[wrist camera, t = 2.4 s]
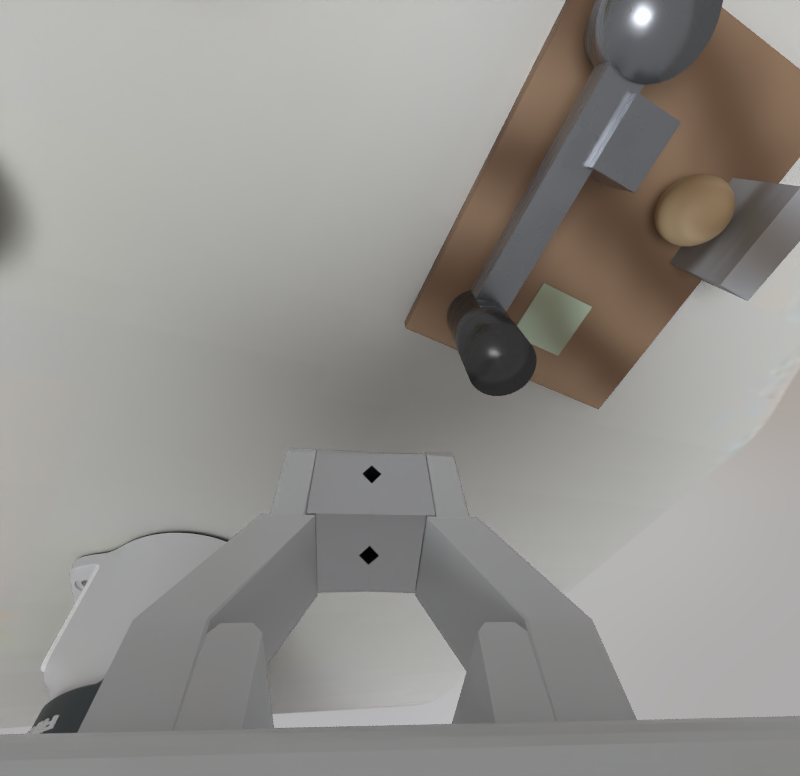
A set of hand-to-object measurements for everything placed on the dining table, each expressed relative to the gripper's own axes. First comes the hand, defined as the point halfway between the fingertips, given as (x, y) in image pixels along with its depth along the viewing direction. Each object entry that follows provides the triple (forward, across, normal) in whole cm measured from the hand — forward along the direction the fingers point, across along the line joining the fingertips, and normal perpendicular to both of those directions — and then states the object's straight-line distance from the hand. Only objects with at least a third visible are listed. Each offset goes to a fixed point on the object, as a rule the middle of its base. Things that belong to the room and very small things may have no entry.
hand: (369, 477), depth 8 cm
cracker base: (+20, -13, -2) cm, 24 cm away
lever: (+17, -9, -4) cm, 19 cm away
